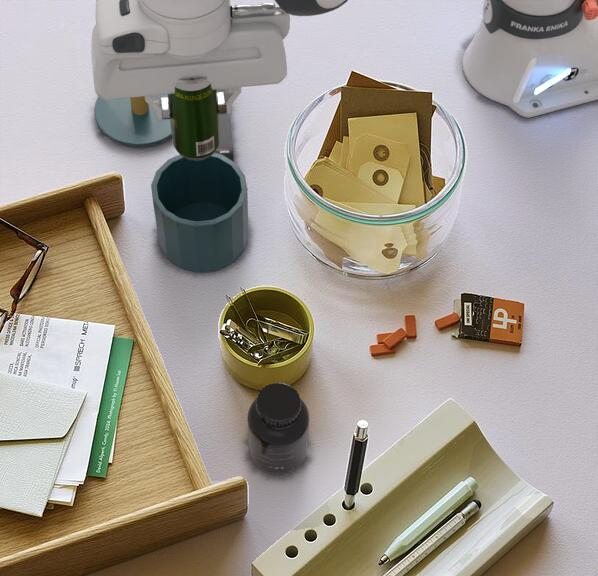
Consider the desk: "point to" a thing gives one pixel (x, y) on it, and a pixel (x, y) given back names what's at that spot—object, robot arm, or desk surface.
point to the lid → (131, 121)
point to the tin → (201, 212)
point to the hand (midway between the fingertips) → (193, 112)
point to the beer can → (194, 118)
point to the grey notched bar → (225, 136)
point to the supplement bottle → (278, 429)
